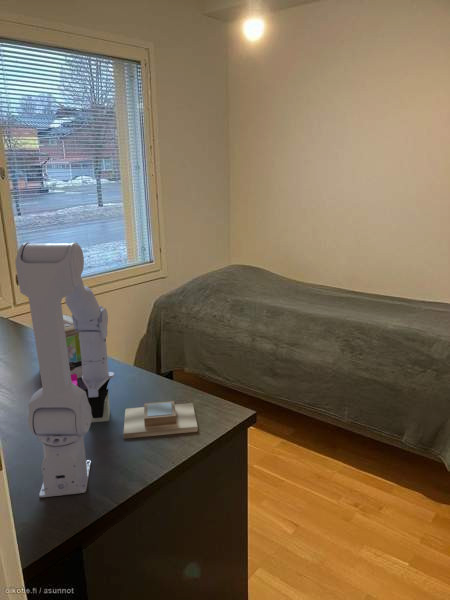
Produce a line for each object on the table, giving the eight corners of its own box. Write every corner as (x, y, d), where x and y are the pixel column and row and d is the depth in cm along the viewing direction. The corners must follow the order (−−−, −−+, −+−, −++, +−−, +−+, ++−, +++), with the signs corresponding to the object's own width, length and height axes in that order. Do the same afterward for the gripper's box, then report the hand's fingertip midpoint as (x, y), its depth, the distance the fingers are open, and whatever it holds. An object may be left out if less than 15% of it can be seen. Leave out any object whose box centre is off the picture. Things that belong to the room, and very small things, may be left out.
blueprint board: (197, 431, 104) (197, 418, 103) (123, 438, 101) (122, 424, 100) (192, 407, 114) (192, 395, 113) (125, 413, 112) (124, 400, 111)
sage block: (108, 421, 108) (107, 401, 107) (88, 422, 108) (86, 403, 106) (110, 411, 113) (108, 392, 111) (90, 413, 112) (89, 394, 111)
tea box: (98, 372, 134) (94, 323, 130) (66, 383, 127) (60, 332, 123) (70, 358, 144) (66, 312, 140) (39, 368, 137) (33, 320, 133)
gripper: (110, 368, 100) (114, 425, 104) (114, 344, 114) (118, 395, 117) (75, 371, 99) (81, 428, 102) (84, 346, 113) (89, 397, 116)
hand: (99, 411), depth 110 cm, fingers open, 5 cm apart
